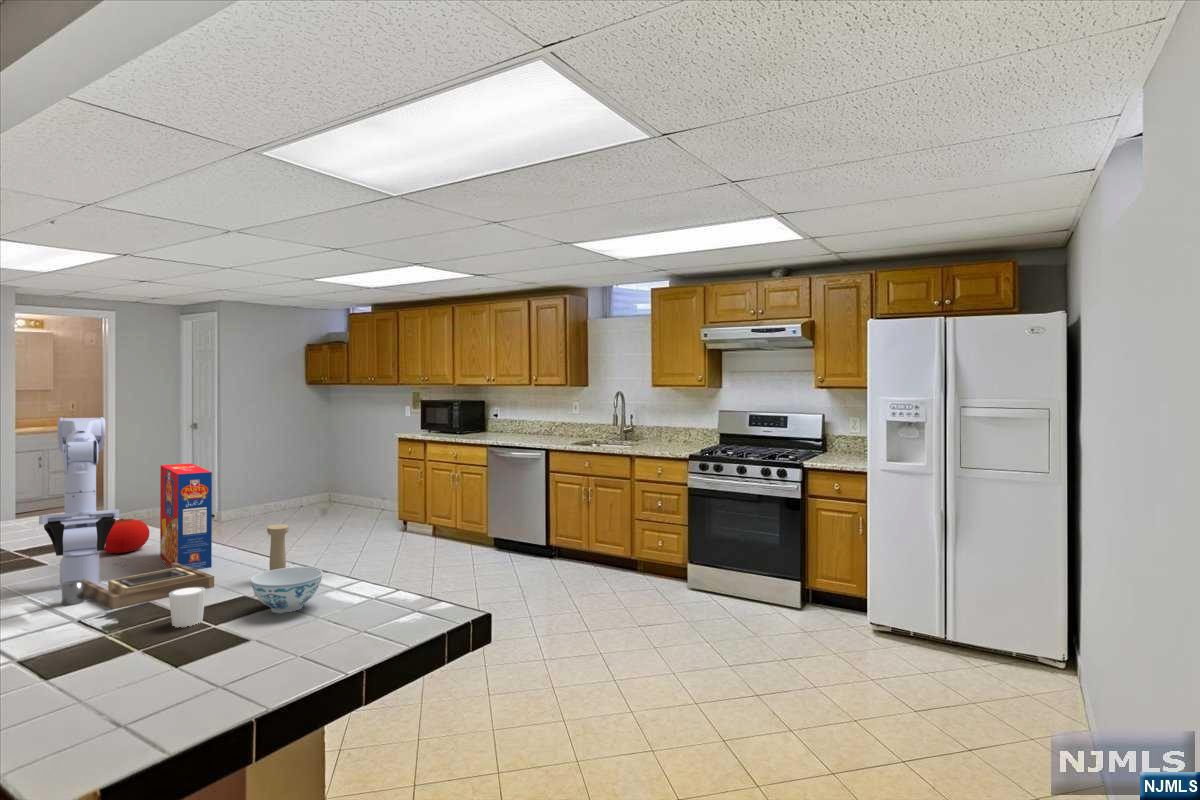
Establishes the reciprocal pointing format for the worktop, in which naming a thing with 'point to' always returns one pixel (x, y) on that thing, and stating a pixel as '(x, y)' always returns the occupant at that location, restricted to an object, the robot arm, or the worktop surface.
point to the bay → (146, 590)
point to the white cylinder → (187, 606)
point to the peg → (72, 592)
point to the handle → (277, 546)
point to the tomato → (126, 536)
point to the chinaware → (286, 587)
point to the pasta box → (186, 515)
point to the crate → (149, 580)
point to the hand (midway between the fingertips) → (80, 553)
